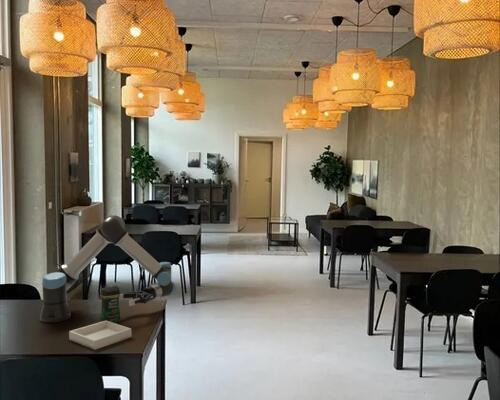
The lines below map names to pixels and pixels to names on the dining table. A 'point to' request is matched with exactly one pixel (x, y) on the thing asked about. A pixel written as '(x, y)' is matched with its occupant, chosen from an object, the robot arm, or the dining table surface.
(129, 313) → the dining table surface
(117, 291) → the coffee jar
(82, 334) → the tray
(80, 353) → the dining table surface
